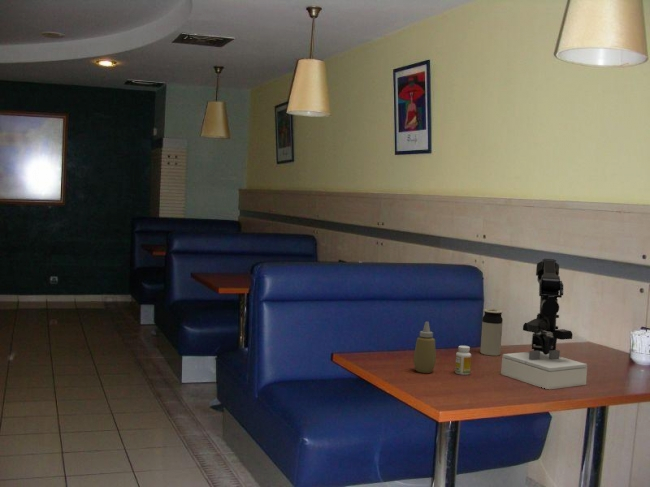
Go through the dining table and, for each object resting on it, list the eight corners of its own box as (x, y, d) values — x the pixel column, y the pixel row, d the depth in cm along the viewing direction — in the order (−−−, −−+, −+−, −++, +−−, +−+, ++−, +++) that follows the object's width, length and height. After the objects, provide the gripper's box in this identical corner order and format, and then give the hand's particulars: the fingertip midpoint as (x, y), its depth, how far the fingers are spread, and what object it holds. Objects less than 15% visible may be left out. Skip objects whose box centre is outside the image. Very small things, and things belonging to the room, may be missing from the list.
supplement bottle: (471, 372, 267) (472, 346, 266) (468, 375, 262) (470, 348, 261) (456, 370, 269) (457, 344, 268) (453, 373, 264) (455, 347, 263)
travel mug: (479, 354, 299) (482, 310, 298) (481, 351, 307) (484, 308, 305) (499, 356, 297) (502, 312, 295) (500, 353, 304) (503, 309, 303)
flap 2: (562, 360, 266) (563, 349, 266) (587, 367, 257) (587, 355, 257) (525, 363, 257) (526, 352, 257) (549, 371, 248) (550, 359, 247)
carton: (538, 370, 277) (539, 354, 276) (585, 384, 258) (587, 367, 257) (500, 374, 267) (502, 357, 266) (547, 389, 248) (548, 372, 248)
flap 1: (538, 353, 276) (539, 342, 276) (561, 359, 267) (562, 349, 266) (502, 356, 267) (503, 346, 266) (524, 363, 257) (525, 352, 257)
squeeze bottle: (438, 370, 267) (441, 321, 266) (431, 375, 260) (434, 324, 259) (416, 367, 271) (419, 319, 269) (409, 371, 263) (412, 322, 262)
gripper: (513, 308, 269) (510, 350, 270) (552, 316, 253) (549, 361, 254) (535, 307, 275) (532, 348, 276) (575, 315, 259) (571, 359, 260)
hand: (545, 354), depth 266 cm, fingers closed
